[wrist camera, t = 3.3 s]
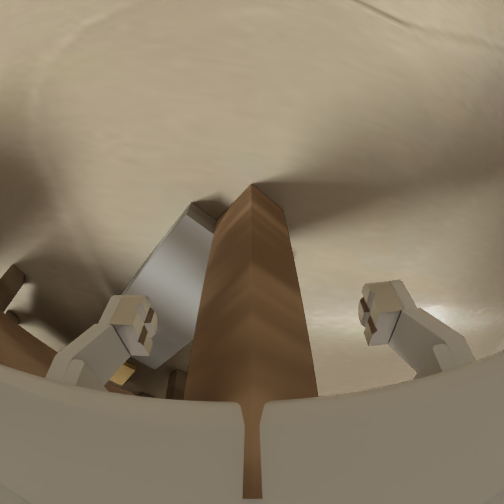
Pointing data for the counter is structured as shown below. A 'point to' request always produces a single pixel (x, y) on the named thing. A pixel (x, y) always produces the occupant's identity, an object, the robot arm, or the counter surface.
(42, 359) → the small wooden table
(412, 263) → the counter surface
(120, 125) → the counter surface
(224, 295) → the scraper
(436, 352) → the robot arm
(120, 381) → the tan square tile
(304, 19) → the counter surface
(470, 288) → the counter surface
